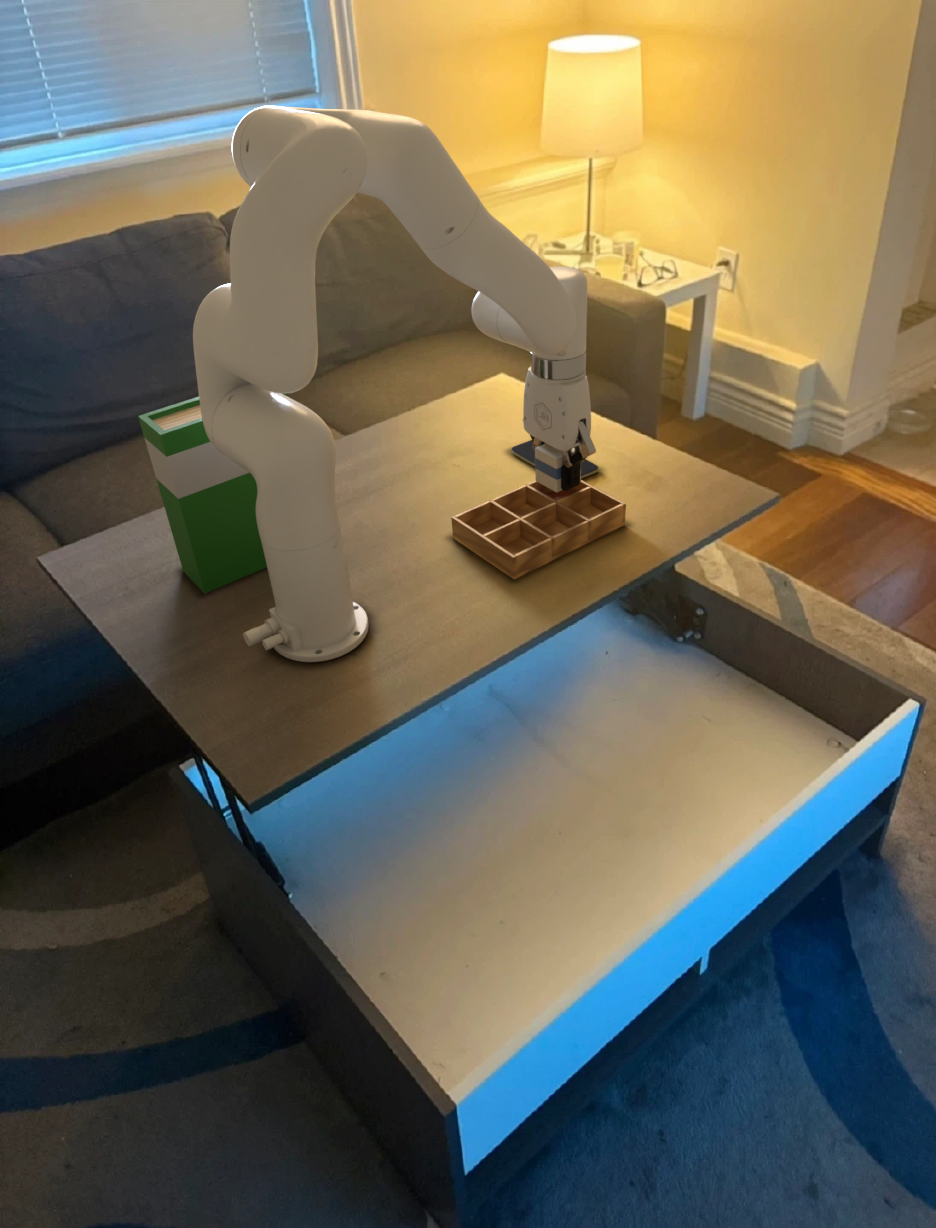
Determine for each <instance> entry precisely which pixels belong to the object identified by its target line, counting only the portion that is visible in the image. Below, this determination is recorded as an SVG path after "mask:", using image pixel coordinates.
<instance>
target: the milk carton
mask: <svg viewBox="0 0 936 1228" xmlns="http://www.w3.org/2000/svg"><path fill="white" fill-rule="evenodd" d="M570 452H571V456H572V455H573V454H575V451H574V448H572V449H570ZM581 463H582V462H581ZM581 463H580V482H581V480H582V479H581ZM563 465H565V464H564V459H563V453H562V451H561V450H559V449H557V448H555V447H553V446H551V445H549V444H547V443H545V444H543V445H541V446H538V447H536V448H535V466H534V469H535V470H534V471H535V472H534V473H535V479H534V481H535V480H536V481H537V482H539V483H540V484H542V485H544V486H546V487H548V488H549V489H551V490H553V491H555V492H559V491H561V490H562V489H561V468H562V466H563Z"/></svg>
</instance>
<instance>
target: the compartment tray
mask: <svg viewBox="0 0 936 1228" xmlns="http://www.w3.org/2000/svg"><path fill="white" fill-rule="evenodd" d="M626 512H627V503H625V502H624V501H622V500H620V499H618V498H616V497H615V496H612V495H611V494H609V493H607V492H606V491H603V490H601V489H599V488H598V487H596V486H594V485H591V484H589V483H588V482H587V481H584V480H583V479H581V482H580V484H579V485H578V486H575V487H573V488H571V489H569V490H566V491H564V490H561V491H559V492H555V491H553V490H551V489H549V488H548V487H546V486H544V485H542V484H540V483H539V482H537V481H536V480H535V479H534V480H532V481H531V482H530V481H529V482H528V483H526V484H524V485H521V486H518V487H517V488H514V489H512V490H510V491H508V492H505V493H503V494H500V495H498V496H497V497H494V498H492V499H490V500H488V501H485V502H483V503H481V504H478V505H476V506H474V507H471V508H469V509H466V510H464V511H462V512H460V513H458V514H456V515H453V516H451V518H450V519H451V528H452V531H451V532H452V539H453V540H455V541H457V542H458V543H459V544H461V545H462V546H464V547H465V548H467V549H468V550H470V551H471V552H473V553H474V554H475V555H477V556H478V557H480V558H481V559H483V561H486V562H487V563H488V564H490V565H492V566H493V567H494V568H496V569H498V570H499V571H500V572H501V573H503V574H505V575H506V576H508V577H509V578H511V579H512V580H515V581H516V579H519V578H520V577H523V576H524V575H527V574H528V573H531V572H533V571H535V570H537V569H539V568H541V567H543V566H545V565H547V564H549V563H551V562H553V561H555V560H557V559H559V558H561V557H563V556H565V555H567V554H569V553H571V552H573V551H575V550H577V549H579V548H581V547H584V546H585V545H587V544H590V543H592V542H594V541H595V540H597V539H600V538H602V537H603V536H606V535H607V534H609V533H612V532H614V531H616V530H618V529H619V528H621V527H624V526H625V525H626V516H627V515H626V514H627V513H626Z"/></svg>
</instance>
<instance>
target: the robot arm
mask: <svg viewBox="0 0 936 1228" xmlns="http://www.w3.org/2000/svg"><path fill="white" fill-rule="evenodd" d="M231 153H232V160H233V163H234V166H235V168H236V170H237V172H238V174H239V176H240V177H241V179H242V180H243V182H245V184H247V185H248V186H249V187H250V189H249V190H248V192H247V194H245V197H244V198H243V200H242V202H241V204H240V206H239V208H238V210H237V212H236V215H235V217H234V219H233V223H232V227H231V230H230V238H229V274H230V275H229V277H230V283H226V284H222V285H219V286H218V287H216V288H214V289H212V290H211V291H209V293H207V295H205V297H203V299H202V300H201V301H202V302H201V303H199V306H198V309H197V311H196V314H195V317H194V321H193V326H192V345H193V356H194V365H195V375H196V383H197V391H198V397H199V400H200V408H201V415H202V421H203V425H204V428H205V431H206V434H207V436H208V438H209V440H210V442H211V443H212V444H213V446H214V447H215V448H216V449H217V450H218V451H219V452H221V453H222V454H223V455H225V456H226V457H228V458H229V459H231V460H232V461H234V462H235V463H237V464H238V465H240V466H241V467H242V468H243V469H245V470H246V471H248V472H249V473H251V474H252V476H253V477H254V479H255V481H256V484H257V499H256V520H257V526H258V530H259V535H260V538H261V542H262V546H263V551H264V555H265V560H266V564H267V567H266V568H267V572H268V573H267V574H268V577H269V581H270V587H271V590H272V596H273V599H274V604H275V606H274V607H272V608H269V609H268V611H269V616H270V618H267V619H265V620H264V623H263V624H261V625H259V626H255V627H253V628H251V629H249V630H247V631H244V632H242V637H243V640H244V642H245V643H246V645H247V646H248V647H250V648H251V647H252V646H255V645H257V644H259V643H261V644H262V647H263V648H264V650H266V651H269V650H271V649H274V650H275V651H276V652H277V654H279V655H280V656H282V657H284V658H285V659H289V660H291V661H295V662H302V663H318V662H319V663H320V662H326V661H329V660H330V661H331V660H334V659H337V658H340V657H342V656H344V655H347V654H348V653H350V652H351V651H353V650H354V649H356V648H357V647H358V646H359V645H360V644H361V643H362V642H363V641H364V639H365V638H366V637H367V634H368V632H369V627H370V626H369V623H370V622H369V617H368V614H367V612H366V610H365V609H364V608H363V607H362V606H361V605H360V604H358V603H357V602H355V601H353V594H352V589H351V582H350V576H349V569H348V565H347V563H348V562H347V559H346V553H345V552H346V551H345V545H344V539H343V532H342V528H341V527H342V526H341V522H340V517H339V510H338V503H337V495H336V462H337V450H336V442H335V439H334V436H333V433H332V431H331V429H330V428H329V426H328V425H327V424H326V422H325V421H324V420H323V418H322V417H320V416H319V414H317V413H316V412H315V411H313V410H312V409H311V408H309V407H308V406H306V405H304V404H302V403H301V402H299V401H297V400H295V399H293V398H291V397H289V396H288V397H287V396H285V395H283V394H281V393H288V394H294V393H296V392H299V391H301V390H302V389H304V388H306V386H308V385H309V384H310V382H311V381H312V379H313V378H314V376H315V374H316V371H317V367H318V359H319V337H318V336H319V334H318V315H317V314H318V313H317V312H318V311H317V294H316V293H317V292H316V261H317V252H318V248H319V244H320V242H321V240H322V237H323V236H324V235H323V234H324V233H325V231H326V229H327V228H328V226H329V225H330V223H331V222H332V221H333V220H334V218H335V217H336V216H337V215H338V214H339V212H340V211H341V210H343V208H345V206H347V205H348V204H349V203H350V202H351V201H352V199H353V198H354V197H355V196H356V195H357V194H361V195H365V196H368V197H372V198H377V199H379V200H380V201H382V202H383V203H384V204H385V206H387V208H388V209H389V210H390V211H391V213H392V214H393V216H395V218H396V219H397V220H398V221H399V222H400V224H402V226H403V227H404V229H405V230H406V231H407V233H408V234H409V235H410V236H411V237H412V238H413V240H414V241H415V243H416V244H417V245H418V246H419V248H420V250H422V252H423V253H424V254H425V255H426V257H427V258H428V259H429V260H430V262H431V263H432V264H433V265H435V266H436V267H437V268H439V269H440V270H441V271H443V272H444V273H445V274H447V275H448V276H450V277H452V278H453V279H455V280H457V281H458V282H460V283H462V284H464V285H466V286H468V287H469V288H471V289H474V290H475V291H476V292H477V293H476V294H475V296H474V297H473V300H472V303H471V311H470V313H471V318H472V321H473V323H474V325H475V327H476V328H477V329H478V331H480V332H481V333H482V334H483V335H485V336H487V337H489V338H490V339H492V340H493V339H494V340H496V341H499V342H502V343H505V344H507V345H510V346H513V347H516V348H520V349H522V350H525V351H527V352H529V353H530V366H529V367H528V369H527V373H526V376H525V381H524V382H525V383H524V389H523V403H522V404H523V407H522V425H523V429H524V431H525V432H526V433H527V434H528V435H529V436H530V438H531V440H533V449H534V450H535V448H536V447H538V446H541V445H543V444H545V443H547V444H549V445H551V446H553V447H555V448H557V449H559V450H561V451H562V453H563V459H564V464H565V465H563V466H562V468H561V489H562V490H564V491H566V490H569V489H571V488H573V487H575V486H578V485H579V484H580V463H581V462H583V461H584V459H586V460H587V458H588V457H590V456H592V455H594V454H596V453H597V449H596V446H595V444H594V443H593V440H592V437H591V435H592V433H591V432H592V407H591V396H590V386H589V380H588V379H589V378H588V376H587V375H586V374H587V373H586V371H587V370H586V369H587V325H588V324H587V322H588V320H587V319H588V279H587V276H586V274H585V273H584V272H583V271H582V270H579V268H575V267H571V266H563V265H561V266H559V265H558V266H549V265H548V264H547V263H546V262H545V261H544V260H543V259H542V257H540V256H539V255H538V254H537V253H536V252H535V251H534V250H533V249H531V248H530V247H529V246H528V245H527V244H526V243H525V242H523V241H522V240H521V239H520V238H519V237H518V236H517V235H515V234H514V233H513V231H511V230H510V229H509V228H508V227H507V226H506V225H504V224H503V223H502V222H501V221H499V220H498V219H497V218H496V217H494V216H493V215H492V214H491V213H490V211H488V209H487V208H486V206H485V205H484V204H483V201H481V199H480V198H479V197H478V195H477V193H476V192H475V191H474V189H473V188H472V186H471V185H470V184H469V181H468V180H467V179H466V177H465V176H464V175H463V173H462V172H461V170H460V169H459V167H458V166H457V164H456V162H455V161H454V159H453V158H452V156H451V155H450V154H449V152H448V151H447V149H446V148H445V147H444V144H442V142H441V140H440V139H439V138H438V136H437V135H436V134H435V132H433V130H432V129H431V128H430V127H429V126H428V125H426V123H424V122H422V121H420V120H419V119H417V118H414V117H411V116H407V115H401V114H394V113H389V112H382V111H376V110H368V109H340V108H339V109H338V108H335V109H334V108H316V107H315V108H312V107H297V106H296V107H295V106H283V105H263V106H260V107H257V108H254V109H253V110H251V111H249V112H247V113H246V114H245V115H244V116H243V117H242V118H241V119H240V120H239V122H238V123H237V125H236V127H235V129H234V132H233V135H232V140H231ZM572 448H574V451H575V454H573V455H572V456H571V452H570V449H572Z"/></svg>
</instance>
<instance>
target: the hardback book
mask: <svg viewBox="0 0 936 1228" xmlns="http://www.w3.org/2000/svg"><path fill="white" fill-rule="evenodd" d="M281 394H283V395H285V396H287V397H289V393H281ZM137 417H138V420H139V421H138V422H139V424H140V427H141V432H142V434H143V439H144V442H145V445H146V448H147V452H148V455H149V458H150V462H151V465H152V469H153V472H154V476H155V479H156V482H157V485H158V490H159V493H160V497H161V500H162V503H163V507H164V510H165V513H166V517H167V521H168V524H169V527H170V531H171V533H172V537H173V541H174V545H175V549H176V551H177V554H178V555H177V556H178V558H179V561H180V565H181V569H182V571H183V573H184V574H185V575H186V576H187V577H188V578H189V579H190V580H191V581H192V582H193V583H194V584H195V585H196V586H197V588H199V589H200V590H201V591H202V592H203V593H204V594H207V593H209V592H213V591H214V590H217V589H219V588H222V587H223V586H226V585H229V584H231V583H233V582H236V581H238V580H240V579H242V578H245V577H248V576H249V575H252V574H254V573H257V572H260V571H261V570H264V569H266V568H267V564H266V560H265V555H264V551H263V546H262V542H261V538H260V535H259V530H258V526H257V520H256V499H257V484H256V481H255V479H254V477H253V476H252V474H251V473H249V472H248V471H246V470H245V469H243V468H242V467H241V466H240V465H238V464H237V463H235V462H234V461H232V460H231V459H229V458H228V457H226V456H225V455H223V454H222V453H221V452H219V451H218V450H217V449H216V448H215V447H214V446H213V444H212V443H211V442H210V440H209V438H208V436H207V434H206V431H205V428H204V425H203V421H202V415H201V408H200V400H199V396H196V397H193V398H190V399H186V400H183V401H181V402H177V403H174V404H171V405H168V406H165V407H162V408H159V409H155V410H152V411H149V412H146V413H142V414H140V415H138V416H137Z"/></svg>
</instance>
